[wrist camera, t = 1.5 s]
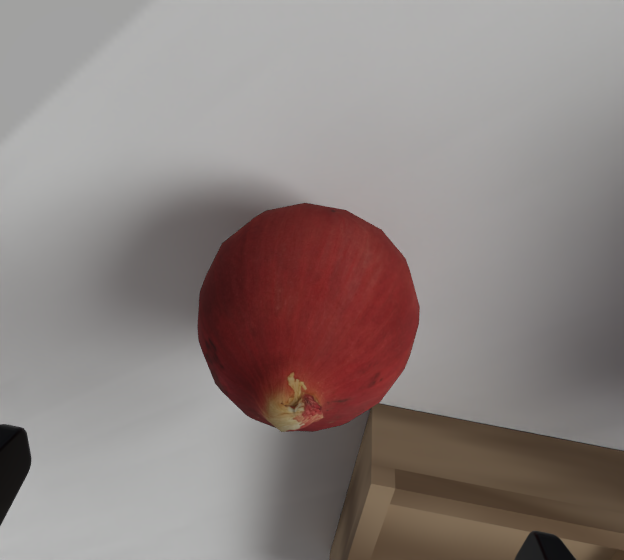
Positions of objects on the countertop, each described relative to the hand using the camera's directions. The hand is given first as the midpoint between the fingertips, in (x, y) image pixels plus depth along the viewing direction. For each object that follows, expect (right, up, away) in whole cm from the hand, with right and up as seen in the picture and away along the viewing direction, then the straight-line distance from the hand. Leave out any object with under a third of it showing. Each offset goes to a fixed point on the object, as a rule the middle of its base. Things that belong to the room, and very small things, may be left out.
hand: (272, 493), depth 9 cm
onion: (+1, +5, +8) cm, 10 cm away
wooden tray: (+7, -6, +13) cm, 16 cm away
